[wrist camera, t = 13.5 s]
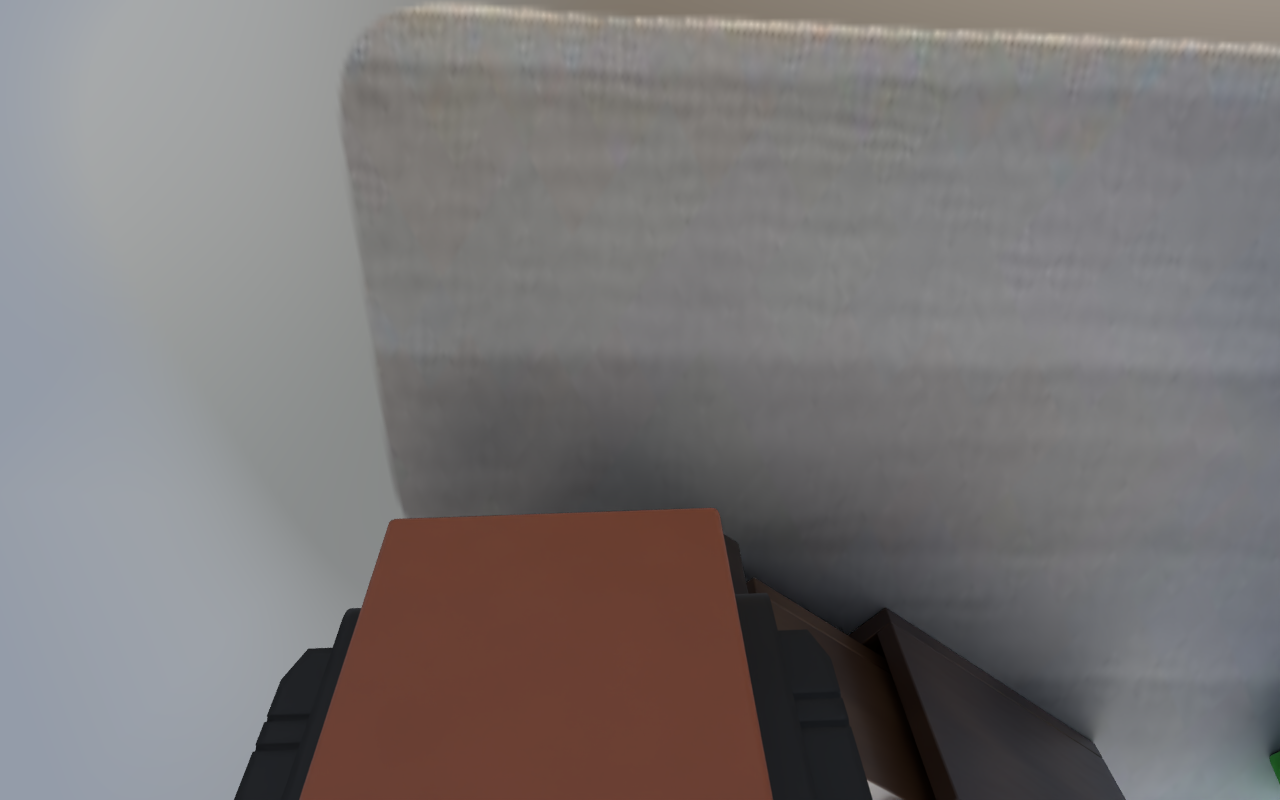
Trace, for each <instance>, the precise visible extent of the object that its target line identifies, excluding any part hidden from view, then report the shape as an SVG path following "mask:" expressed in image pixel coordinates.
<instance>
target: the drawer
mask: <svg viewBox="0 0 1280 800" xmlns="http://www.w3.org/2000/svg"><path fill="white" fill-rule="evenodd" d="M723 535H724V534H723ZM724 540H725V545H726V551H727V556H728V561H729V567H730V572H731V577H732V583H733V588H734V593H735V594H753V593H767V594H768V595H769V597H770V600H771V604H772V608H773V612H774V617H775V621H776V625H777V629H778V631H779V630H803V629H808V631H809V632H810V633H811V634H812V636H813V637H814V638H815V639H816V640H817V642H818V643H819V644H820V645H821V647H822V648H823V649H824V650H825V651H826V653H827V654H828V655H829V656H830V658H831V660H832V664H833V667H834V670H835V674H836V677H837V681H838V684H839V687H840V691H841V698H843V701H844V704H845V708H846V711H847V714H848V718H849V725H850V726H851V728H852V731H853V735H854V738H855V741H856V745H857V748H858V751H859V755H860V758H861V761H862V765H863V768H864V772H865V775H866V778H867V782H868V785H869V788H870V792H871V795H872V799H873V800H936V798H935V795H934V793H933V790H932V787H931V784H930V781H929V779H928V776H927V773H926V770H925V767H924V764H923V762H922V759H921V756H920V753H919V750H918V748H917V745H916V742H915V739H914V736H913V733H912V731H911V728H910V725H909V722H908V719H907V717H906V714H905V711H904V708H903V705H902V703H901V700H900V697H899V694H898V691H897V688H896V686H895V683H894V680H893V677H892V674H891V672H890V669H889V666H888V663H887V660H886V659H885V658H883V657H882V656H880V655H878V654H877V653H875V652H874V651H872V650H870V649H869V648H867V647H866V646H864V645H862V644H861V643H859V642H857V641H856V640H854V639H853V638H851V637H849V636H848V635H846V634H845V633H843V632H841V631H840V630H838V629H836V628H835V627H833V626H832V625H830V624H828V623H827V622H825V621H824V620H822V619H820V618H819V617H817V616H815V615H814V614H812V613H811V612H809V611H807V610H806V609H804V608H803V607H801V606H799V605H798V604H796V603H794V602H793V601H791V600H790V599H788V598H786V597H785V596H783V595H782V594H780V593H778V592H777V591H775V590H773V589H772V588H770V587H769V586H767V585H765V584H764V583H762V582H761V581H759V580H757V579H756V578H752V579H751V580H749V581H748V582H747V583H746V580H745V574H744V569H743V564H742V559H741V554H740V549H739V544H738V543H737V542H736V541H734V540H732V539H731V538H729V537H728V536H726V535H724Z"/></svg>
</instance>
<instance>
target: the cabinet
mask: <svg viewBox="0 0 1280 800" xmlns="http://www.w3.org/2000/svg"><path fill="white" fill-rule="evenodd" d="M849 637H851V638H853V639H854V640H856V641H857V642H859V643H861V644H862V645H864V646H866V647H867V648H869V649H870V650H872V651H874V652H875V653H877V654H878V655H880V656H882V657H883V658H885V659H886V660H887V663H888V666H889V669H890V672H891V674H892V677H893V680H894V683H895V686H896V688H897V691H898V694H899V697H900V700H901V703H902V705H903V708H904V711H905V714H906V717H907V719H908V722H909V725H910V728H911V731H912V733H913V736H914V739H915V742H916V745H917V748H918V750H919V753H920V756H921V759H922V762H923V764H924V767H925V770H926V773H927V776H928V779H929V781H930V784H931V787H932V790H933V793H934V795H935V798H936V800H1126V799H1125V797H1124V796H1123V794H1122V792H1121V790H1120V788H1119V787H1118V785H1117V783H1116V781H1115V780H1114V778H1113V776H1112V774H1111V772H1110V771H1109V769H1108V767H1107V765H1106V763H1105V762H1104V760H1103V759H1102V756H1101V754H1100V753H1099V751H1098V749H1097V747H1096V745H1095V744H1094V743H1092V742H1091V741H1089V740H1088V739H1086V738H1085V737H1083V736H1082V735H1080V734H1079V733H1077V732H1076V731H1074V730H1073V729H1071V728H1069V727H1068V726H1066V725H1065V724H1063V723H1062V722H1060V721H1059V720H1057V719H1056V718H1054V717H1053V716H1051V715H1050V714H1048V713H1046V712H1045V711H1043V710H1042V709H1040V708H1039V707H1037V706H1036V705H1034V704H1033V703H1031V702H1030V701H1028V700H1027V699H1025V698H1023V697H1022V696H1020V695H1019V694H1017V693H1016V692H1014V691H1013V690H1011V689H1010V688H1008V687H1007V686H1005V685H1004V684H1002V683H1000V682H999V681H997V680H996V679H994V678H993V677H991V676H990V675H988V674H987V673H985V672H984V671H982V670H980V669H979V668H977V667H976V666H974V665H973V664H971V663H970V662H968V661H967V660H965V659H964V658H962V657H961V656H959V655H957V654H956V653H954V652H953V651H951V650H950V649H948V648H947V647H945V646H944V645H942V644H941V643H939V642H938V641H936V640H934V639H933V638H931V637H930V636H928V635H927V634H925V633H924V632H922V631H921V630H919V629H918V628H916V627H915V626H913V625H911V624H910V623H908V622H907V621H905V620H904V619H902V618H901V617H899V616H898V615H896V614H895V613H893V612H892V611H890V610H888V609H887V608H884V609H883V610H882V611H880V612H879V613H878V614H876V615H875V616H874V617H872V618H871V619H870V620H868V621H867V622H866V623H864V624H863V625H862V626H861V627H859V628H858V629H857V630H855V631H854V632H853V633H851V634H850V635H849Z"/></svg>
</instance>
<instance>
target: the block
mask: <svg viewBox="0 0 1280 800" xmlns="http://www.w3.org/2000/svg"><path fill="white" fill-rule="evenodd" d="M299 800H773V796H772V790H771V785H770V780H769V774H768V769H767V764H766V758H765V753H764V748H763V742H762V737H761V732H760V726H759V721H758V716H757V711H756V705H755V700H754V695H753V689H752V684H751V679H750V673H749V668H748V663H747V657H746V652H745V647H744V641H743V636H742V631H741V625H740V620H739V615H738V609H737V604H736V599H735V593H734V588H733V583H732V577H731V572H730V567H729V561H728V556H727V551H726V545H725V540H724V535H723V529H722V524H721V519H720V514H719V512H718V510H717V509H715V508H692V509H664V510H636V511H608V512H580V513H551V514H523V515H495V516H467V517H438V518H410V519H394V520H391V521H390V522H389V525H388V528H387V531H386V534H385V537H384V540H383V543H382V547H381V549H380V553H379V556H378V559H377V562H376V565H375V568H374V571H373V574H372V577H371V580H370V583H369V586H368V590H367V593H366V596H365V599H364V602H363V605H362V608H361V611H360V614H359V617H358V620H357V623H356V626H355V629H354V633H353V636H352V639H351V642H350V645H349V648H348V651H347V654H346V657H345V660H344V663H343V666H342V669H341V673H340V676H339V679H338V682H337V685H336V688H335V691H334V694H333V697H332V700H331V703H330V706H329V710H328V713H327V716H326V719H325V722H324V725H323V728H322V731H321V734H320V737H319V740H318V743H317V746H316V750H315V753H314V756H313V759H312V762H311V765H310V768H309V771H308V774H307V777H306V780H305V783H304V786H303V790H302V793H301V796H300V799H299Z"/></svg>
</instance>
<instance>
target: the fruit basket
mask: <svg viewBox="0 0 1280 800" xmlns="http://www.w3.org/2000/svg"><path fill="white" fill-rule="evenodd" d="M1270 762H1271V765H1272V767H1273V769H1274V772H1275V774H1276V777H1277V779H1278V781H1279V784H1280V751H1279V752H1277V753H1275V754H1273V755H1271V756H1270Z"/></svg>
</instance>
